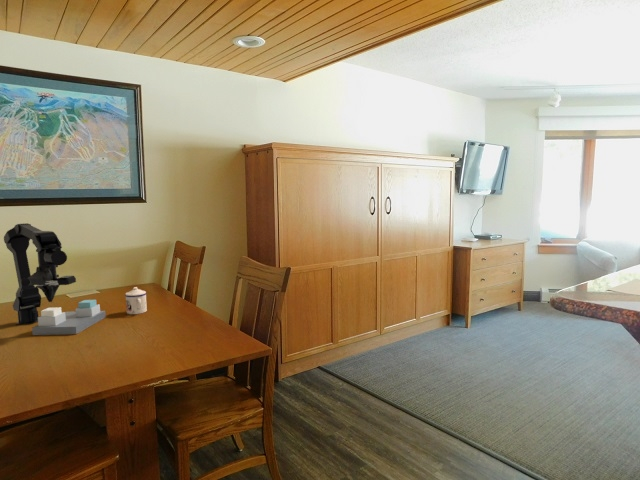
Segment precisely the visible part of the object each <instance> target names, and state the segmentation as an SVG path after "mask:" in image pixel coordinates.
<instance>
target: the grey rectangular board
mask: <svg viewBox="0 0 640 480" xmlns="http://www.w3.org/2000/svg"><path fill="white" fill-rule="evenodd" d="M96 304H97V303H96ZM100 306H101V305H100V303H99V304H97V305H96V306H94V307H92V308H79V306H78V307H76V308H75V311H62V313H61V314H59V315H57V316H54V317H41V315H40V316H39V317H38V321H37V325H35V326H33V327H31V331H32V333H31V334H32V336H49V335H51V336H52V335H57V336H59V335H77V334H79V333H81V332H83V331H84V330H86V329H87V328H90V327H91V326H93V325H95V324H96V323H99V322H100V321H103V319H105V318H107V317H106V310H101V307H100Z"/></svg>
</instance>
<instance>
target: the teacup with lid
mask: <svg viewBox="0 0 640 480" xmlns="http://www.w3.org/2000/svg"><path fill="white" fill-rule="evenodd" d="M124 297H125V305H126V306H125V307H126V313H127V315H139V314H141V315H142V314H144V313H146V312H147V311H148V309H147V308H148V307H147V306H148V305H147V291H145V290H142V289H140V288H138V286H135V287H133V288H132V289H131V290H130V291H127V292H125V295H124Z"/></svg>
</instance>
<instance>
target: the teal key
mask: <svg viewBox="0 0 640 480" xmlns="http://www.w3.org/2000/svg"><path fill="white" fill-rule="evenodd" d="M77 305H78V307H79V308H92V307H94V306H96V305H97V299H83V300H82V301H79V302H77Z"/></svg>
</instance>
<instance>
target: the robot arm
mask: <svg viewBox="0 0 640 480" xmlns="http://www.w3.org/2000/svg"><path fill="white" fill-rule="evenodd" d="M30 240H31V243H32V245H34V247H36V249H35V252H36V253H37V261H38V266H37V267H36V269H35V270H36V271H35V272H34V273H31V270H30V264H29V259H28V255H27V254H28V253H27V251H28V248H29V246H30ZM3 242H4V244H5V246H6V249H7V250H9V252H11V254H12V256H13V261H14V267H15V272H16V276H17V277H16V278H17V283H18V287H17V290H16V292H15V299H14V301H13V303H12V308H13V309H12V310H13V311H15V312H17V319H18V322H16V323H15V325H17V326H18V325H33V324H34V323H38V317H40V316H39V311H38V308H41V303H42V296H41V294H40V290H41V291H42V293H43V294H44V296H45V298H46V301H48V303H52V302H53V301H54V298H55V296H56V294H57V290H59V287H60V286H69V285H72V284H74V283H76V282H77V279H76V276H75V275H63V276H59V274H57V268H59V266H62V265H64V264H65V263H66V262H67V259H68V255H67V254H66V252H65V251H63V250H62V248H63V246H62V243H61V240H60V239H59V237H58V235H57V234H56V233H55V232H54V231H52V230H42V229H39V228H37V227H35V226H33V225H32V224H31V223H17V224H15V225H14V227H12V228H10V229H8V230H7V231H6V233H5V234H4V235H3Z"/></svg>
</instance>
